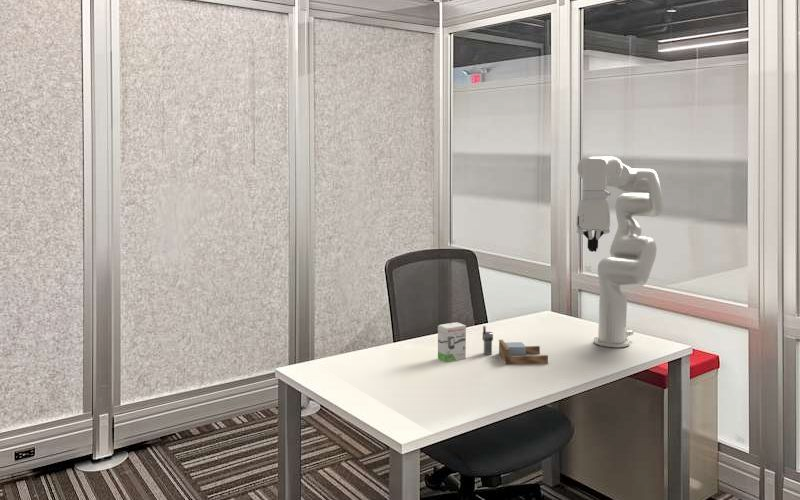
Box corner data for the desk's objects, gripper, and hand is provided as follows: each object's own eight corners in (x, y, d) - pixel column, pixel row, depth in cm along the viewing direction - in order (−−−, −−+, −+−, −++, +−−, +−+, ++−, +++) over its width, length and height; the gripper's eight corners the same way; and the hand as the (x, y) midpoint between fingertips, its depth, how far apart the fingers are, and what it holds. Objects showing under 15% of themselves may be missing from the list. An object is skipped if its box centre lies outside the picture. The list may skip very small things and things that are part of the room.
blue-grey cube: (521, 356, 230) (521, 342, 229) (525, 361, 224) (526, 347, 223) (504, 356, 229) (504, 342, 229) (508, 362, 223) (508, 347, 223)
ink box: (445, 362, 223) (445, 328, 221) (437, 358, 227) (437, 325, 225) (466, 358, 227) (466, 324, 225) (457, 355, 231) (458, 321, 230)
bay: (538, 352, 233) (539, 338, 232) (547, 363, 221) (548, 348, 220) (498, 353, 232) (499, 339, 232) (505, 364, 221) (506, 349, 220)
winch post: (491, 352, 234) (492, 324, 233) (493, 355, 231) (494, 327, 229) (481, 352, 234) (481, 325, 233) (483, 355, 230) (483, 327, 229)
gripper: (612, 194, 224) (611, 249, 226) (568, 195, 223) (567, 249, 226) (620, 196, 216) (618, 252, 219) (574, 196, 216) (573, 253, 219)
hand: (592, 250), depth 222 cm, fingers closed
